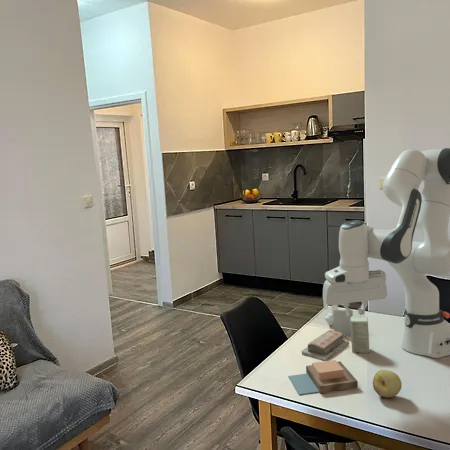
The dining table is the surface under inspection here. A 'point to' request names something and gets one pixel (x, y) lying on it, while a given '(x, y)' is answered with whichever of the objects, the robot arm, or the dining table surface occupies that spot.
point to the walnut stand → (333, 381)
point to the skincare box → (359, 334)
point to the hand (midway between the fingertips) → (355, 314)
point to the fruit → (387, 383)
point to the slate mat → (303, 384)
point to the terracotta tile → (327, 370)
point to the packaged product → (325, 345)
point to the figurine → (330, 314)
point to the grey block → (342, 322)
